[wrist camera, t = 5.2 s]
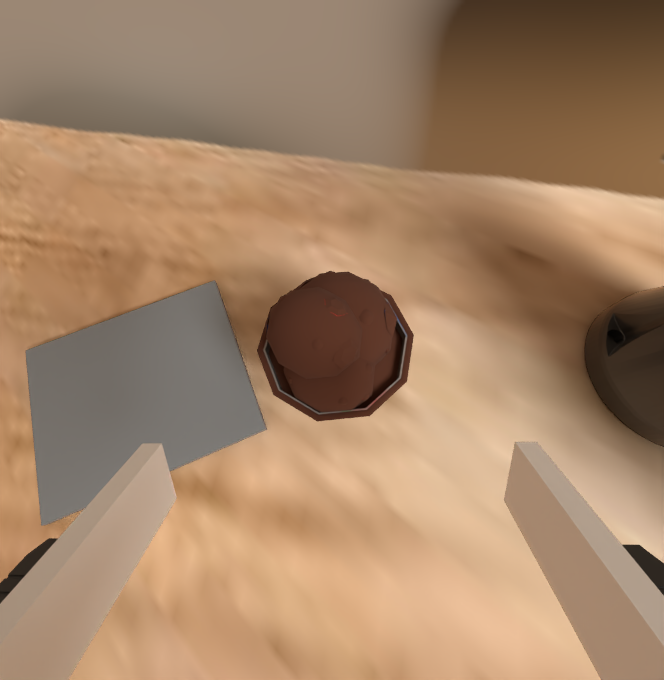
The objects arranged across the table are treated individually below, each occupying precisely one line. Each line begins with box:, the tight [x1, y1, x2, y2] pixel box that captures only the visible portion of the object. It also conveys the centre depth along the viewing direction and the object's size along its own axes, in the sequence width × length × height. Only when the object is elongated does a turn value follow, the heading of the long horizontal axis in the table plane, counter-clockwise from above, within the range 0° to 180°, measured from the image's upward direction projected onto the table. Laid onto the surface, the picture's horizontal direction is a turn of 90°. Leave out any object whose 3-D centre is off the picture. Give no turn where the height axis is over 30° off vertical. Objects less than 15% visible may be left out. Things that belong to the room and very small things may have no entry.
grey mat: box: [26, 280, 267, 526], centre depth 32 cm, size 20×17×1 cm
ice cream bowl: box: [257, 271, 414, 421], centre depth 25 cm, size 11×11×15 cm
